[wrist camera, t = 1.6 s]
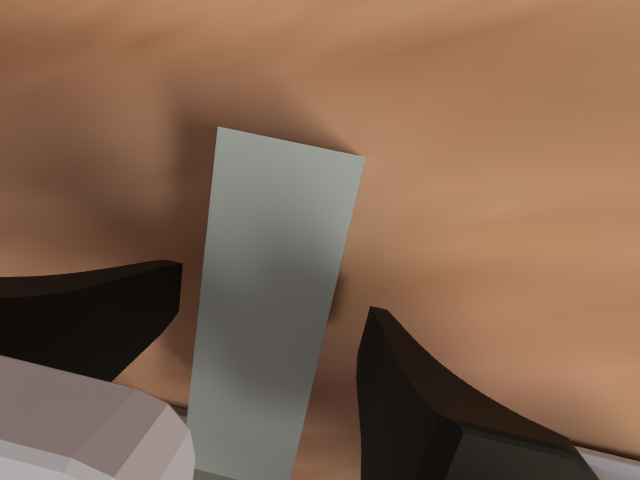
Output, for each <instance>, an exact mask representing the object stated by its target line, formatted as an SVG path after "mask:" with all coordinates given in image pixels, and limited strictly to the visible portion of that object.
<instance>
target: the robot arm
mask: <svg viewBox="0 0 640 480" xmlns="http://www.w3.org/2000/svg"><path fill="white" fill-rule="evenodd" d="M182 266H183V263H178V262H174V261H169V260H157V261H149V262H142V263H136V264H130V265H125V266H119V267H113V268H106V269H99V270H92V271H86V272H78V273H70V274H60V275H47V276H30V277H0V480H193V474H194V466H195V452H194V448H193V443H192V438H191V433H190V429H189V427H188V426H187V424H186V423H185V422H184V421H183V420H182V419H181V417H180V416H179V415H178V414H177V413H176V412H175V411H174V409H173V408H172V407H171V406H170V405H169V404H168V403H167V402H165V401H163V400H160V399H158V398H156V397H154V396H152V395H150V394H148V393H146V392H144V391H142V390H139V389H135V388H131V387H127V386H123V385H119V384H115V383H111V382H112V381H113V380H114V379H115V378H116V377H117V376H118V375H119V374H120V373H121V372H122V371H123V370H124V369H125V368H126V367H127V366H128V365H129V364H130V363H131V362H132V361H134V360H135V359H136V358H137V357H138V356H139V355H140V354H141V353H142V352H143V351H144V350H145V349H146V348H147V347H148V346H149V345H150V344H151V343H152V342H153V341H154V340H155V339H156V338H157V337H158V336H159V335H160V334H161V333H162V332H163V331H164V330H165V329H166V328H167V326H168V325H169V324H170V323H171V321H172V320H173V319H174V317H175V316H176V315H177V313H178V312H179V302H180V290H181V278H182ZM356 380H357V394H358V406H359V419H360V431H361V480H640V461H635V460H631V459H627V458H623V457H619V456H615V455H611V454H606V453H602V452H598V451H594V450H590V449H586V448H582V447H578V446H574V445H573V444H572V442H571V441H570V440H569V439H568V438H567V437H564V436H562V435H560V434H558V433H556V432H554V431H552V430H550V429H548V428H546V427H544V426H541V425H539V424H537V423H535V422H533V421H531V420H529V419H527V418H525V417H523V416H521V415H519V414H517V413H515V412H514V411H512V410H510V409H508V408H506V407H505V406H503V405H501V404H499V403H497V402H496V401H494V400H492V399H491V398H489V397H487V396H486V395H484V394H482V393H481V392H479V391H478V390H476V389H475V388H473V387H472V386H470V385H469V384H467V383H466V382H464V381H463V380H462V379H460V378H459V377H457V376H456V375H455V374H453V373H452V372H451V371H450V370H448V369H447V368H446V367H444V366H443V365H442V364H441V363H439V362H438V361H437V360H436V359H435V358H434V357H432V356H431V355H430V354H429V353H428V352H427V351H426V350H425V349H424V348H423V347H422V346H421V345H420V344H419V343H418V342H417V341H416V340H415V339H414V338H413V337H412V336H411V335H410V334H409V333H408V332H407V331H406V330H405V329H404V328H403V326H402V325H401V324H400V323H399V322H398V321H397V320H396V319H395V318H394V316H393V315H392V314H391V313H390V312H389V311H388V310H385V309H381V308H377V307H372V306H370V309H369V313H368V317H367V320H366V324H365V328H364V332H363V335H362V339H361V343H360V347H359V350H358V356H357V374H356Z"/></svg>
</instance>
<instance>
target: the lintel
mask: <svg viewBox="0 0 640 480" xmlns="http://www.w3.org/2000/svg"><path fill="white" fill-rule="evenodd" d="M365 158H366V157H363V156H358V155H353V154H348V153H343V152H339V151H334V150H329V149H324V148H319V147H315V146H310V145H305V144H300V143H295V142H291V141H286V140H281V139H276V138H271V137H267V136H262V135H257V134H252V133H247V132H243V131H238V130H233V129H228V128H223V127H219V126H218V129H217V139H216V148H215V158H214V167H213V177H212V186H211V196H210V205H209V215H208V224H207V234H206V243H205V253H204V262H203V272H202V281H201V291H200V300H199V310H198V319H197V329H196V338H195V348H194V357H193V366H192V376H191V385H190V395H189V404H188V414H187V423H186V424H187V426H188V427H189V429H190V433H191V438H192V443H193V448H194V452H195V466H194V469H198V470H202V471H205V472H209V473H213V474H217V475H221V476H225V477H229V478H232V479H236V480H291V476H292V472H293V467H294V463H295V459H296V454H297V450H298V446H299V442H300V437H301V433H302V429H303V424H304V420H305V416H306V411H307V407H308V403H309V399H310V394H311V390H312V386H313V381H314V377H315V373H316V368H317V364H318V360H319V356H320V351H321V347H322V343H323V338H324V334H325V330H326V325H327V321H328V317H329V312H330V308H331V304H332V300H333V295H334V291H335V287H336V282H337V278H338V274H339V269H340V265H341V261H342V257H343V252H344V248H345V244H346V239H347V235H348V231H349V226H350V222H351V218H352V214H353V209H354V205H355V201H356V196H357V192H358V188H359V183H360V179H361V175H362V170H363V166H364V162H365Z"/></svg>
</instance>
